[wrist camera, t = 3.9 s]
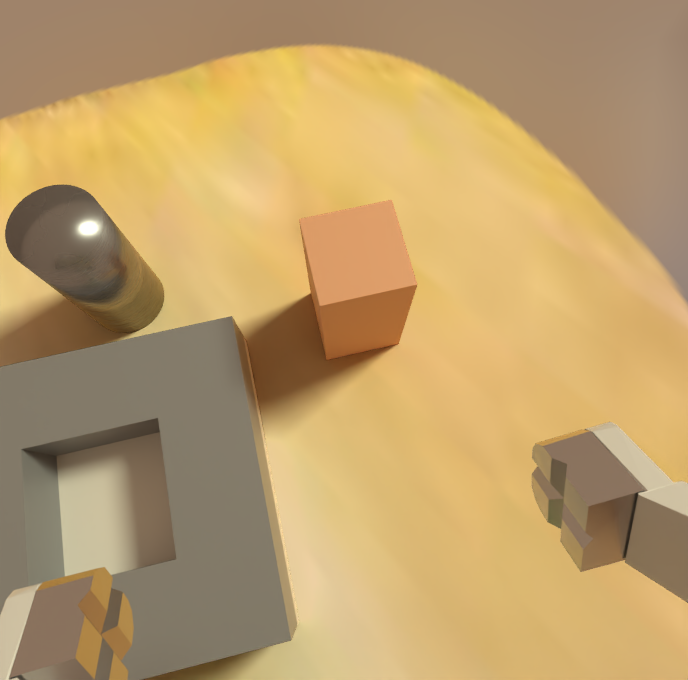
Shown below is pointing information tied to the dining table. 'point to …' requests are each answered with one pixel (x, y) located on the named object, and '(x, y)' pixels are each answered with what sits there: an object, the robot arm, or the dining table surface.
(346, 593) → the dining table surface
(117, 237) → the cylinder
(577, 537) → the robot arm
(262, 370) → the dining table surface
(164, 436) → the holder block
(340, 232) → the square bit
